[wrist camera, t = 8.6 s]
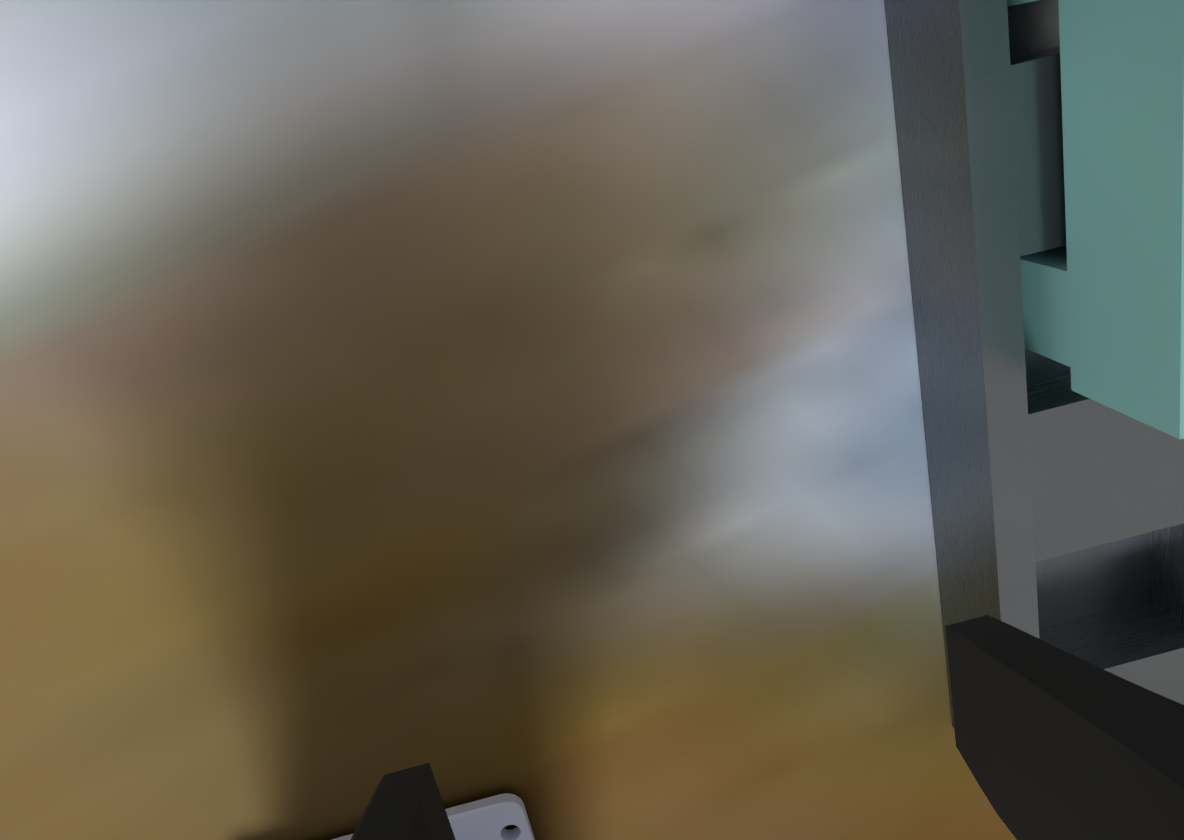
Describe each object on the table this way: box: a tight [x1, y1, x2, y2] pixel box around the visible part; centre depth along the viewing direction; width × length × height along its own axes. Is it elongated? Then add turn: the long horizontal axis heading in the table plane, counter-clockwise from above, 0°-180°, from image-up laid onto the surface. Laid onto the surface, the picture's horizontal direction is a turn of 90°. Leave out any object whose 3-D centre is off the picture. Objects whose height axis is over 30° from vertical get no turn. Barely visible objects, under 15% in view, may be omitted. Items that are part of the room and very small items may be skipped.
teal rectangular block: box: [1007, 0, 1184, 439], centre depth 17 cm, size 10×3×5 cm, turn 12°
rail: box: [885, 0, 1184, 729], centre depth 20 cm, size 24×6×3 cm, turn 12°
